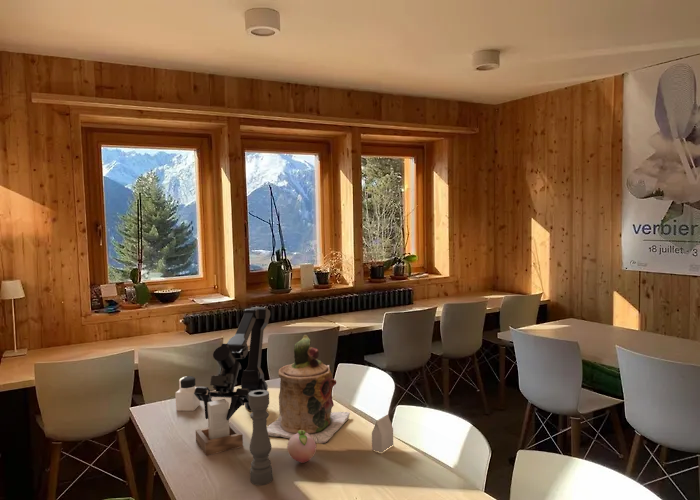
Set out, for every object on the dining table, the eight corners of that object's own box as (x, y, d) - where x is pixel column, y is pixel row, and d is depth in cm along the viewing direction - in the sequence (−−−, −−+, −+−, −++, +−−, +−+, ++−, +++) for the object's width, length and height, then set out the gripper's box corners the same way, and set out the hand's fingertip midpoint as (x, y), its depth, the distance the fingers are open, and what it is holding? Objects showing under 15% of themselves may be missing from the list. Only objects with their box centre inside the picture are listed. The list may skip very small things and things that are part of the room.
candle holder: (251, 475, 156) (248, 390, 154) (273, 473, 156) (270, 389, 155) (249, 485, 150) (246, 397, 148) (271, 484, 150) (269, 396, 148)
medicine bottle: (200, 404, 215) (199, 374, 214) (193, 411, 208) (192, 380, 207) (183, 404, 216) (182, 374, 215) (175, 410, 208) (174, 380, 208)
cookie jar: (259, 436, 183) (256, 343, 181) (290, 410, 206) (288, 328, 204) (327, 445, 175) (325, 347, 173) (351, 417, 198) (350, 331, 196)
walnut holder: (231, 433, 186) (230, 422, 185) (242, 446, 175) (242, 434, 175) (195, 441, 179) (195, 430, 179) (206, 455, 169) (205, 443, 169)
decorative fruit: (284, 458, 166) (283, 427, 165) (310, 454, 169) (309, 422, 168) (292, 472, 157) (291, 439, 156) (319, 467, 160) (318, 434, 159)
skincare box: (225, 433, 181) (225, 398, 180) (229, 438, 177) (229, 402, 176) (207, 437, 178) (207, 401, 177) (211, 442, 174) (210, 405, 173)
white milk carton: (393, 446, 173) (392, 415, 173) (381, 454, 168) (381, 422, 167) (383, 443, 175) (383, 413, 175) (372, 451, 170) (371, 420, 169)
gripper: (195, 363, 181) (180, 407, 171) (248, 364, 178) (236, 410, 168) (206, 378, 189) (193, 421, 180) (257, 380, 186) (246, 424, 176)
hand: (216, 419), depth 176 cm, fingers closed on skincare box, 7 cm apart
